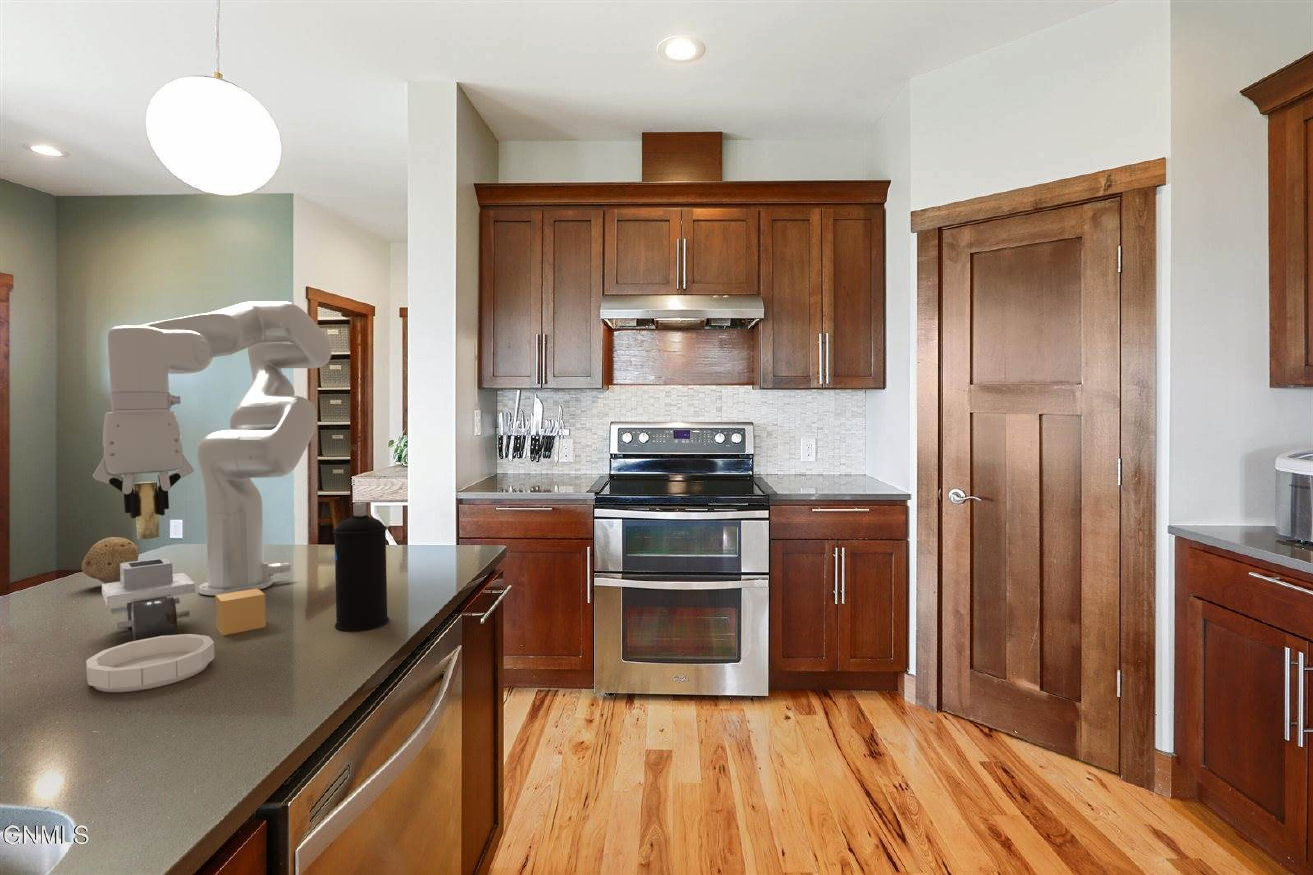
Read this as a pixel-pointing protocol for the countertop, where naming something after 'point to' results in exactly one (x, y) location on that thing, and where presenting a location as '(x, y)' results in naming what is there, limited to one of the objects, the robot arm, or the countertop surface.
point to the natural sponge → (109, 558)
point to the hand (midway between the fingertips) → (147, 514)
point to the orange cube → (240, 611)
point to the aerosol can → (360, 572)
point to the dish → (149, 662)
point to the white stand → (148, 597)
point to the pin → (147, 510)
